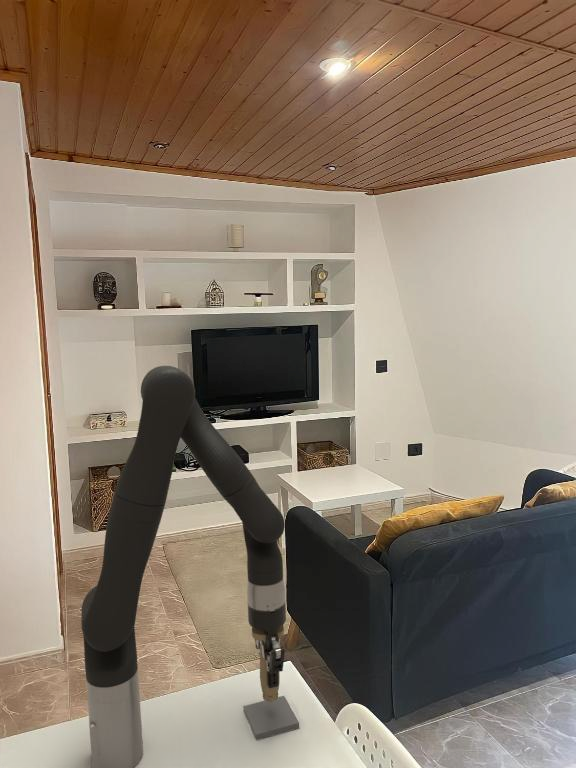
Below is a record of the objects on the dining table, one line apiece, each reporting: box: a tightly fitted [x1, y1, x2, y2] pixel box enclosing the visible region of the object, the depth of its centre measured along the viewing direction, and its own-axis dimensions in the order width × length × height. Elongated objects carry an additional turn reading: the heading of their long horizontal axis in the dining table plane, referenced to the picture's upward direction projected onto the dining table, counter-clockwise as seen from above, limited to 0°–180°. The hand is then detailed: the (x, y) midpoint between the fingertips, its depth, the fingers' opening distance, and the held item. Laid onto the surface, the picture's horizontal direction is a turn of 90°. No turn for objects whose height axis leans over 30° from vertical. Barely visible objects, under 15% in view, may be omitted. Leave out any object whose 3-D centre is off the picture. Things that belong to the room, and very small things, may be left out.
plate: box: [242, 695, 300, 741], centre depth 120 cm, size 9×9×1 cm
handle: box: [251, 625, 285, 702], centre depth 119 cm, size 5×6×15 cm
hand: (269, 679), depth 119 cm, fingers closed on handle, 4 cm apart
